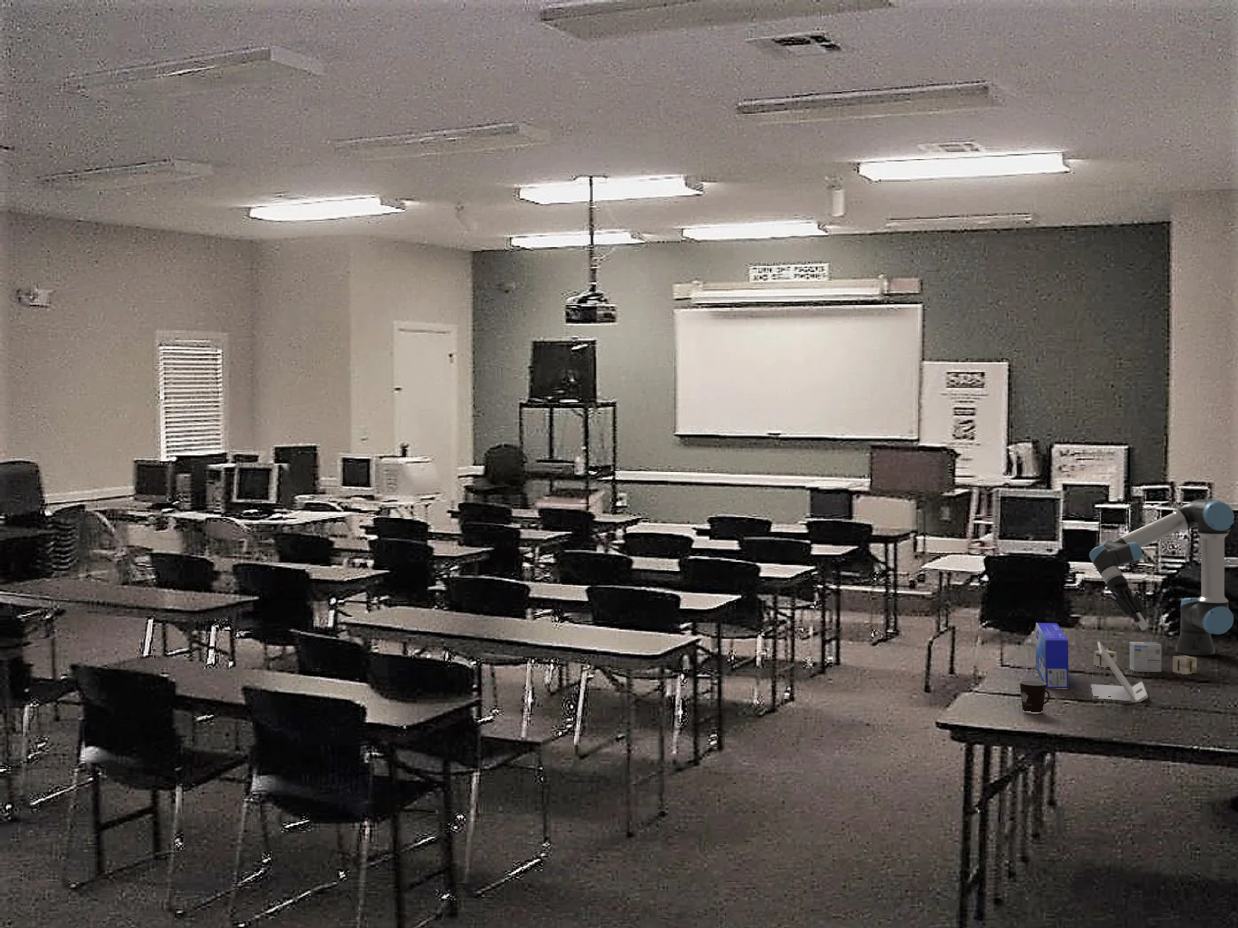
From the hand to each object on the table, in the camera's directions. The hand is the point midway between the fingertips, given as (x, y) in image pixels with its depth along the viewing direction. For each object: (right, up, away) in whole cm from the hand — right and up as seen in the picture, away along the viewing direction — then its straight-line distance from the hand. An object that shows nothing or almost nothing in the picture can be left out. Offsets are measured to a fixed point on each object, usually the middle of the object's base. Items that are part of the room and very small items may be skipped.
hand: (1144, 627), depth 524 cm
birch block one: (+14, -17, -4) cm, 22 cm away
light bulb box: (0, -17, 0) cm, 17 cm away
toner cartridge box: (-42, -17, -17) cm, 48 cm away
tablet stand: (-26, -19, -44) cm, 54 cm away
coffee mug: (-66, -20, -75) cm, 102 cm away
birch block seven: (-13, -16, +8) cm, 22 cm away
